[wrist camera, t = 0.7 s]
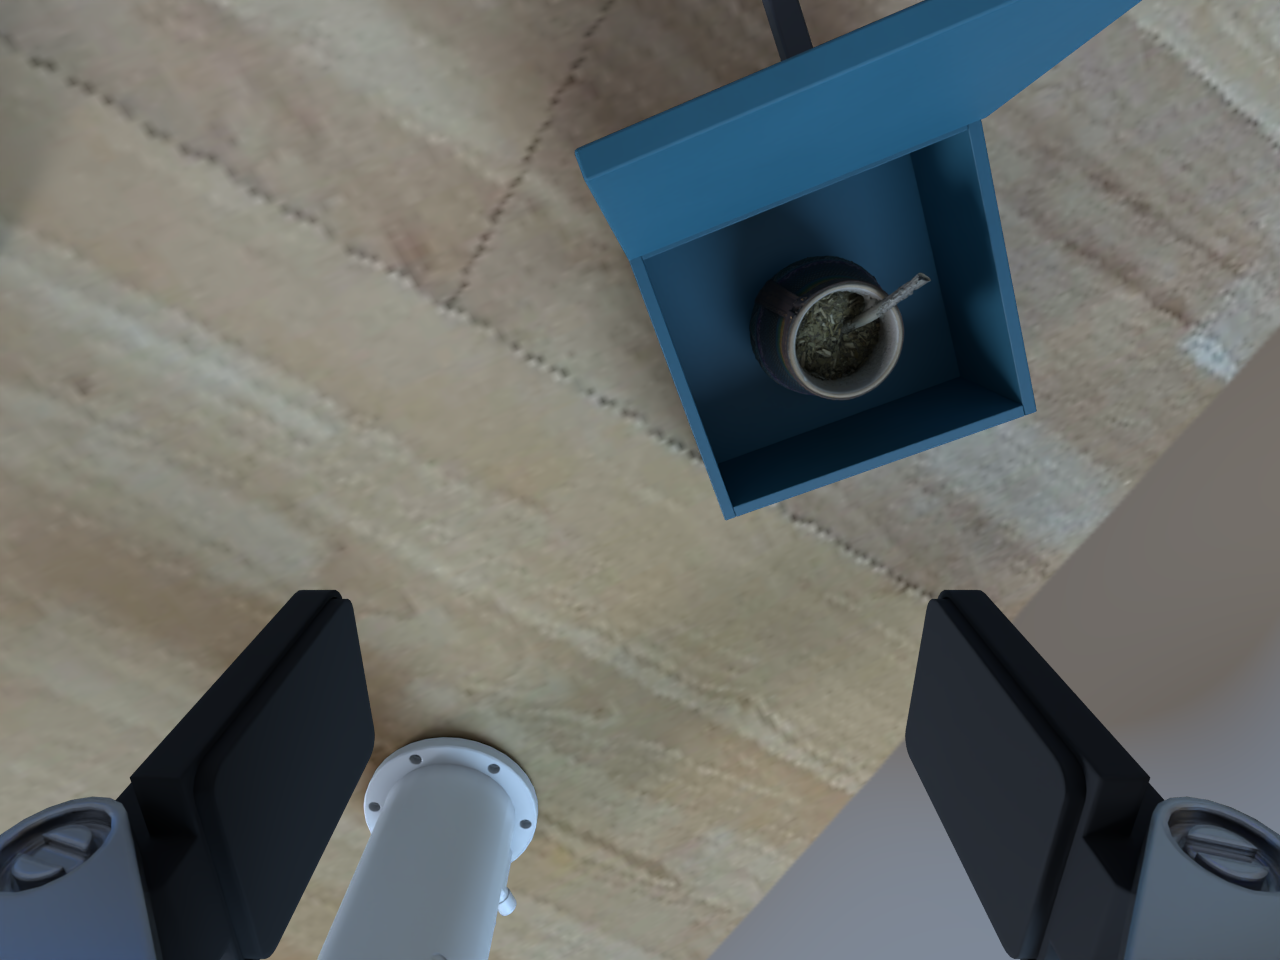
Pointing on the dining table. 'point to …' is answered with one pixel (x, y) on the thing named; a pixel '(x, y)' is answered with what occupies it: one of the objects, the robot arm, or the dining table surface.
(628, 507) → the dining table surface
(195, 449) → the dining table surface
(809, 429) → the blue open rectangular box
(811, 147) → the lid
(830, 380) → the mate gourd
